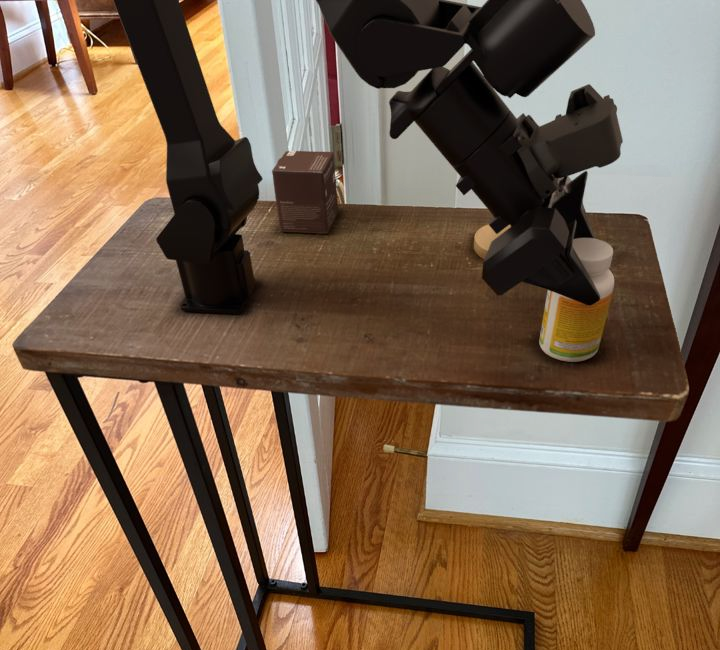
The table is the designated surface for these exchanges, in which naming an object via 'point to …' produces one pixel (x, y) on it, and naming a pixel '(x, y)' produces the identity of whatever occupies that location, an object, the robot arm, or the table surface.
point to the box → (305, 191)
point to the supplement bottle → (579, 308)
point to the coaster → (485, 239)
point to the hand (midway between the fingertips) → (598, 284)
